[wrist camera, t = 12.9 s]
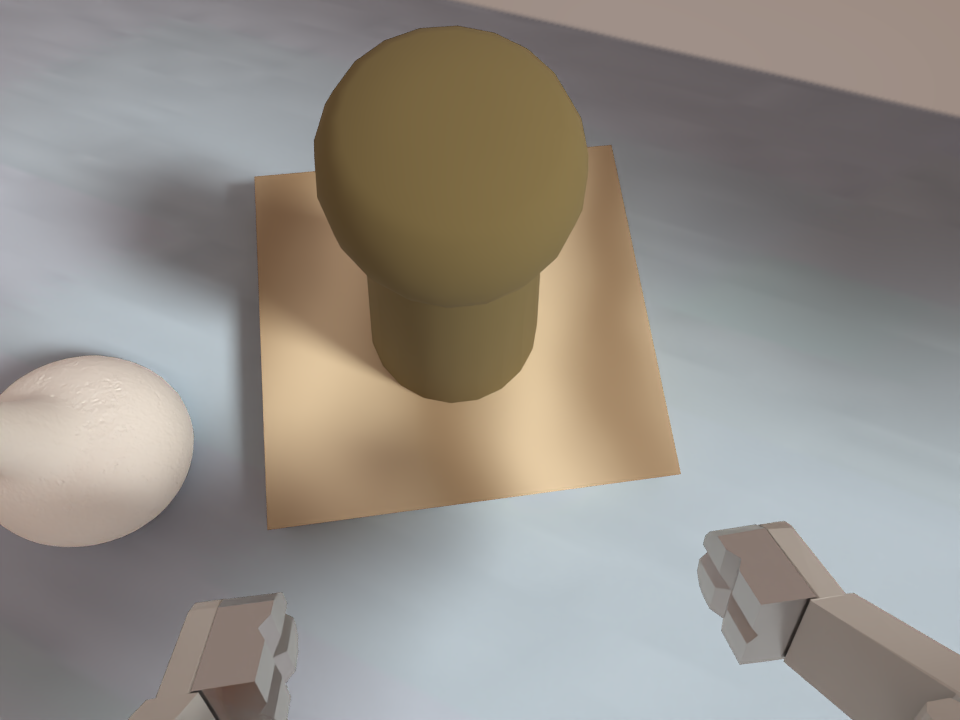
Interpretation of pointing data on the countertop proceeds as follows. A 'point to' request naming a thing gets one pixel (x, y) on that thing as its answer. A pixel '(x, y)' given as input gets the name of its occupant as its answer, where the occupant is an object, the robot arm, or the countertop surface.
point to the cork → (451, 200)
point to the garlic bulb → (90, 450)
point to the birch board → (440, 425)
